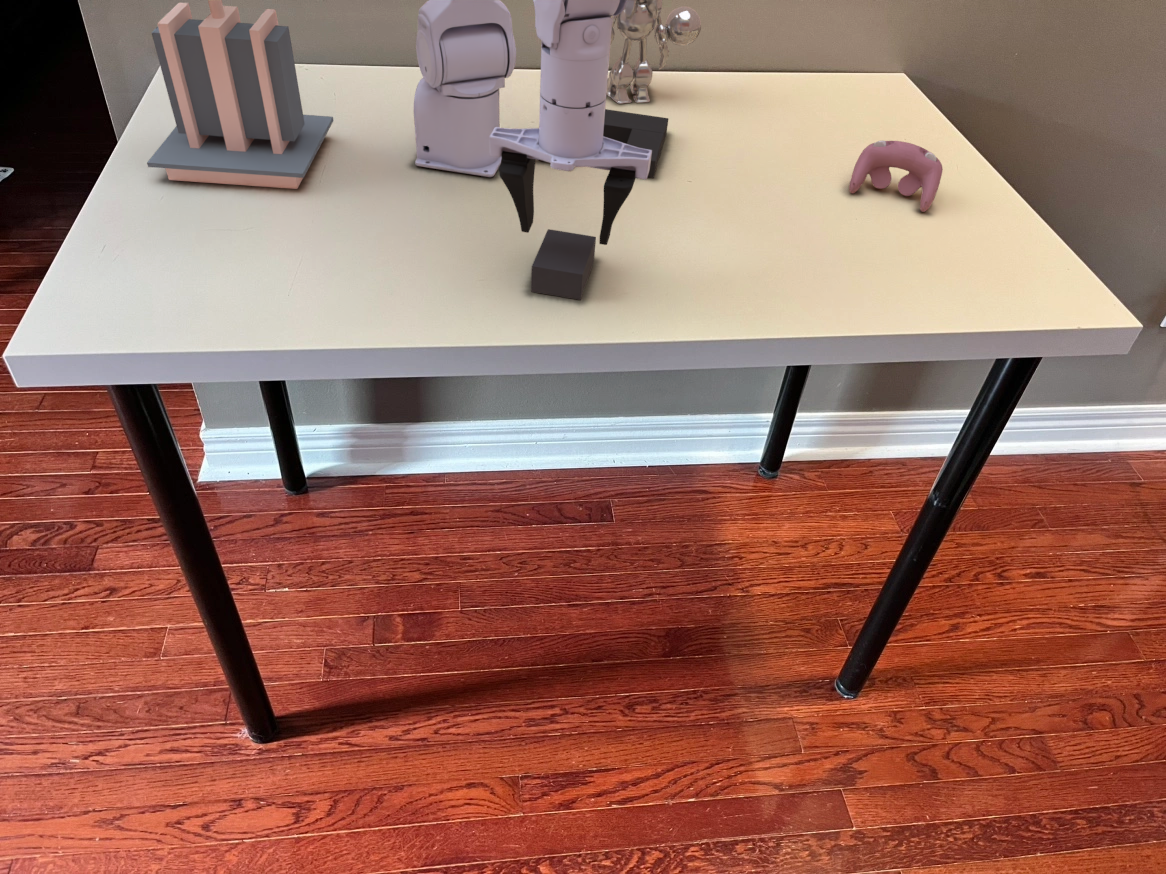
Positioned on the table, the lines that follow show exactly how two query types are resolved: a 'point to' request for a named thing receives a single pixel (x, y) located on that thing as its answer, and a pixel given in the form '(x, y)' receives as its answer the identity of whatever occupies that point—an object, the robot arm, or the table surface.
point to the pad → (563, 264)
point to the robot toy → (636, 28)
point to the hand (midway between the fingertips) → (565, 233)
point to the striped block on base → (233, 101)
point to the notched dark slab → (637, 132)
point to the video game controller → (904, 156)
